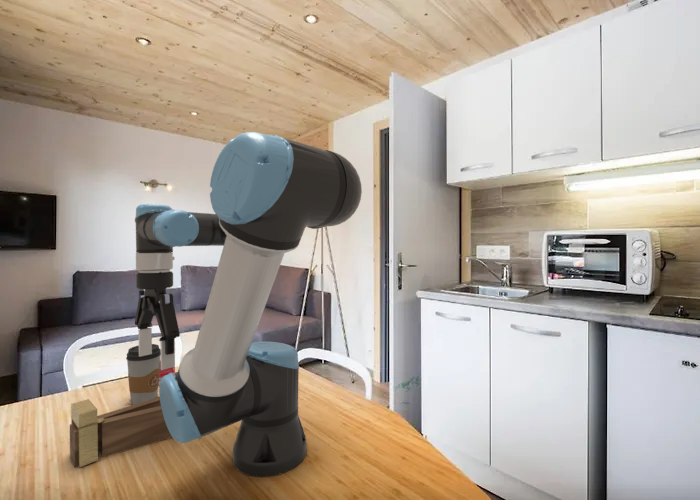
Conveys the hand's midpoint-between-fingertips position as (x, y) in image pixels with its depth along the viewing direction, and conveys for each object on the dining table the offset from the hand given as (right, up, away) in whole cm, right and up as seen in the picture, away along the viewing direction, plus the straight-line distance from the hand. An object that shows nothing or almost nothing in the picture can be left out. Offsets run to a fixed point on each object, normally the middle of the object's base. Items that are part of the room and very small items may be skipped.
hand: (156, 361), depth 81 cm
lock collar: (-9, -17, -10) cm, 22 cm away
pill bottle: (-13, -16, +29) cm, 35 cm away
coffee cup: (-12, -16, +15) cm, 25 cm away
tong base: (-3, -17, -4) cm, 17 cm away
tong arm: (+1, -17, -4) cm, 17 cm away
